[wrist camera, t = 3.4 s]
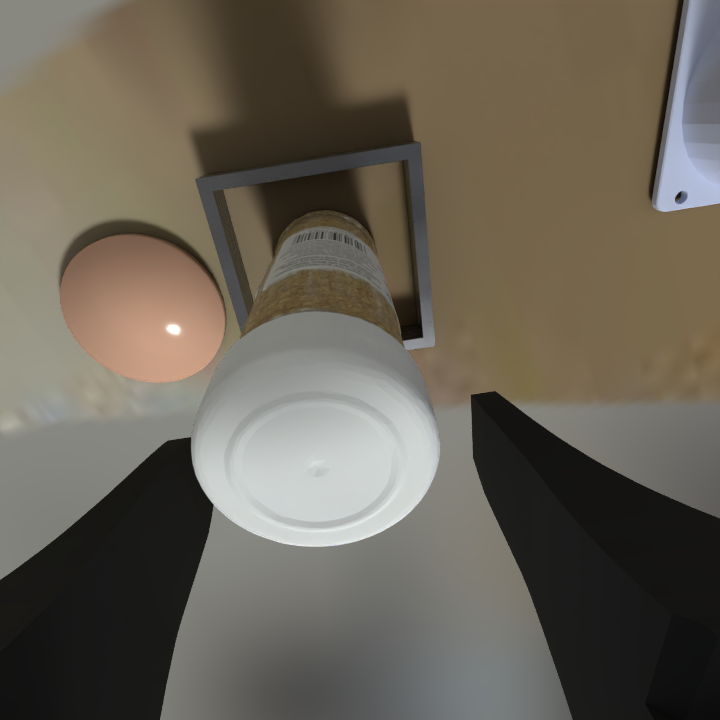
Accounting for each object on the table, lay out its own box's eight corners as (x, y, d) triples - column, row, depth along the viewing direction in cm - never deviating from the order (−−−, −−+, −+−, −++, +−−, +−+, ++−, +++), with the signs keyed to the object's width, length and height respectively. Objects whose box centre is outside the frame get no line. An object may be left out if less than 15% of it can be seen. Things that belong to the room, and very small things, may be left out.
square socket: (413, 140, 18) (420, 142, 16) (428, 332, 22) (435, 345, 20) (205, 174, 18) (195, 179, 16) (258, 358, 22) (253, 373, 20)
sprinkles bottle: (261, 285, 20) (154, 521, 8) (298, 188, 18) (229, 310, 6) (353, 323, 21) (376, 580, 9) (397, 235, 19) (495, 414, 7)
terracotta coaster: (199, 221, 19) (196, 223, 18) (243, 365, 22) (242, 370, 21) (36, 247, 19) (29, 250, 18) (105, 387, 22) (100, 392, 22)
